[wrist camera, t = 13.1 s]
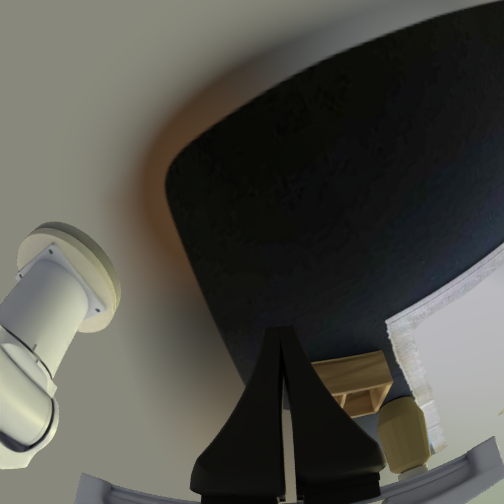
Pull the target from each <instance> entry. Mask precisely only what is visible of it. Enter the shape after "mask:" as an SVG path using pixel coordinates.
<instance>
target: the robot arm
mask: <svg viewBox="0 0 504 504" xmlns="http://www.w3.org/2000/svg"><path fill="white" fill-rule="evenodd" d="M51 250H52V251H51ZM15 279H16V281H17V282H18V283H17V285H16V286H15V287H14V288H13V289H12V291H11V292H10V293H9V294H8V296H7V297H6V298H5V299H4V301H3V302H2V303H1V305H0V469H15V468H24V467H27V465H28V463H29V462H30V460H31V458H32V457H33V456H34V454H35V453H36V452H37V451H38V450H40V449H42V448H43V447H45V445H47V444H48V443H49V442H50V441H51V439H52V438H53V436H54V434H55V432H56V429H57V426H58V420H59V407H58V403H57V401H56V399H55V398H54V393H55V391H56V389H57V386H55V384H54V383H53V382H52V379H53V377H54V375H55V373H56V370H57V368H58V366H59V364H60V362H61V360H62V358H63V356H64V354H65V352H66V350H67V348H68V346H69V345H70V343H71V341H72V339H73V337H74V335H75V333H76V331H77V330H78V328H79V326H80V324H81V322H82V321H83V320H86V319H89V318H91V317H94V316H96V315H99V314H101V313H104V312H105V311H106V310H107V307H106V305H105V304H104V303H103V302H102V301H101V299H100V298H99V297H98V296H97V295H96V294H95V292H94V291H93V290H92V289H91V288H90V286H89V285H88V284H87V283H86V281H85V280H84V279H83V278H82V276H81V275H80V274H79V273H78V271H77V270H76V269H75V268H74V266H73V265H72V264H71V262H70V261H69V260H68V258H67V257H66V256H65V254H64V253H63V252H62V250H61V249H60V247H59V246H58V245H57V244H56V243H52V244H50V245H49V246H48V247H47V248H45V249H44V250H43V251H42V252H41V253H40V254H38V255H37V256H36V257H35V258H34V259H33V260H31V261H30V262H29V263H28V264H27V265H26V266H25V267H23V268H22V269H21V270H20V271H19V272H18V273H17V274H16V275H15ZM284 379H285V384H286V390H287V396H288V401H289V407H290V412H291V419H292V429H293V443H294V459H295V474H296V475H295V476H296V494H297V503H286V504H368V503H371V502H376V501H379V500H383V499H385V500H384V501H383V502H382V504H465V503H467V502H468V501H470V500H472V499H473V498H475V497H476V496H478V495H479V494H481V493H482V492H484V491H485V490H487V489H488V488H490V487H491V486H493V485H494V484H496V483H497V482H499V481H500V480H502V479H503V478H504V465H503V461H502V457H501V454H500V451H499V447H498V445H497V441H496V438H495V436H493V437H491V438H489V439H488V440H486V441H484V442H482V443H481V444H479V445H477V446H476V447H474V448H472V449H471V450H469V451H468V452H467V453H466V454H464V455H462V456H460V457H458V458H456V459H454V460H452V461H449V462H447V463H445V464H443V465H441V466H438V467H436V468H434V469H431V470H429V471H426V472H424V473H421V474H419V475H416V476H413V477H410V478H408V479H405V480H402V481H399V482H396V483H392V484H389V485H386V486H383V487H379V480H380V474H379V472H380V471H381V470H382V469H384V467H385V466H386V465H387V463H386V459H385V456H384V453H383V451H382V449H381V448H380V446H379V444H378V443H377V442H376V441H375V440H374V439H373V438H371V437H370V436H369V435H368V434H367V433H366V432H365V431H364V430H363V429H362V428H361V427H360V426H358V425H357V424H356V423H355V422H354V421H353V419H352V418H351V417H350V416H349V415H348V414H347V413H346V412H345V411H344V409H343V408H342V407H341V406H340V405H339V404H338V402H337V401H336V400H335V399H334V397H333V396H332V395H331V393H330V392H329V391H328V389H327V388H326V386H325V385H324V383H323V382H322V380H321V379H320V377H319V376H318V374H317V372H316V371H315V369H314V367H313V366H312V364H311V362H310V360H309V358H308V356H307V354H306V352H305V350H304V348H303V346H302V344H301V341H300V339H299V336H298V333H297V330H296V327H295V326H294V325H290V326H281V327H271V328H265V329H264V330H263V335H262V341H261V346H260V350H259V353H258V357H257V360H256V363H255V366H254V369H253V371H252V374H251V376H250V379H249V381H248V383H247V386H246V388H245V390H244V392H243V394H242V396H241V398H240V400H239V402H238V404H237V406H236V407H235V409H234V411H233V413H232V414H231V416H230V418H229V419H228V420H227V422H226V423H225V425H224V426H223V428H222V429H221V430H220V432H219V433H218V435H217V436H216V437H215V439H214V440H213V441H212V442H211V443H210V445H209V446H208V447H207V448H206V449H205V451H204V452H203V453H202V454H201V455H200V456H199V457H198V458H197V460H196V462H195V465H194V468H193V471H192V474H191V481H190V489H191V491H193V492H195V493H197V494H200V495H201V502H195V501H187V500H180V499H173V498H167V497H161V496H157V495H152V494H147V493H143V492H138V491H134V490H130V489H126V488H123V487H120V486H116V485H113V484H111V483H109V482H107V481H104V480H102V479H99V478H96V477H93V476H90V475H88V474H85V473H81V476H80V480H79V485H78V489H77V493H76V499H75V503H74V504H280V502H284V501H286V499H285V495H286V494H287V493H286V475H285V458H284V442H283V441H284V440H283V420H282V419H283V416H282V415H283V386H284Z"/></svg>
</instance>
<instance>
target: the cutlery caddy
mask: <svg viewBox="0 0 504 504" xmlns="http://www.w3.org/2000/svg"><path fill="white" fill-rule="evenodd" d="M311 364H312V366H313V367H314V369H315V371H316V372H317V374H318V376H319V377H320V379H321V380H322V382H323V383H324V385H325V386H326V388H327V389H328V391H329V392H330V393H331V395H332V396H333V397H334V399H335V400H336V401H337V402H338V404H339V405H340V406H341V407H342V408H343V409H344V411H345V412H346V413H347V414H348V415H349V416H350V417H351V418H355V417H359V416H364V415H368V414H373V413H377V412H378V410H379V408H380V406H381V404H382V402H383V401H384V399H385V397H386V395H387V393H388V391H389V389H390V387H391V385H392V382H393V380H392V377H391V374H390V371H389V368H388V365H387V362H386V360H385V357H384V354H383V351H382V350H380V351H375V352H370V353H365V354H360V355H355V356H349V357H343V358H337V359H331V360H325V361H318V362H311Z"/></svg>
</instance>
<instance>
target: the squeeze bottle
mask: <svg viewBox="0 0 504 504" xmlns="http://www.w3.org/2000/svg"><path fill="white" fill-rule="evenodd" d="M377 433H378V436H379V438H380V441H381V444H382V447H383V450H384V453H385V456H386V459H387V462H388V465H389V468H390V471H391V472H392V473H395V474H396V473H397V474H399V473H402V474H400V475H399V476H398V479H399V481H402V480H405V479H408V478H410V477H413V476H416V475H419V474H421V473H424V472H426V471H428V467H427V465H423V464H425V463H426V462H427V461H428V460H429V459H430V457H431V452H430V446H429V439H428V434H427V428H426V423H425V418H424V413H423V411H422V410H421V409H420V408H419V407H418V405H417V404H416V403H415V402H414V401H413V399H412V398H411V397H402V398H398V399H396V400H393V401H391V402H389V403H387V404H386V405H384V406H383V407H382V408H381V409H380V411H379V419H378V428H377Z"/></svg>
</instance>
